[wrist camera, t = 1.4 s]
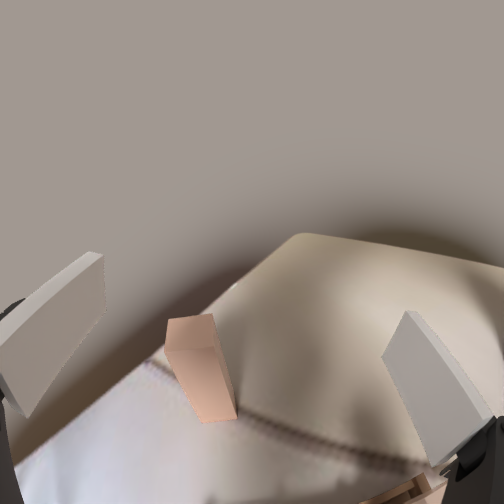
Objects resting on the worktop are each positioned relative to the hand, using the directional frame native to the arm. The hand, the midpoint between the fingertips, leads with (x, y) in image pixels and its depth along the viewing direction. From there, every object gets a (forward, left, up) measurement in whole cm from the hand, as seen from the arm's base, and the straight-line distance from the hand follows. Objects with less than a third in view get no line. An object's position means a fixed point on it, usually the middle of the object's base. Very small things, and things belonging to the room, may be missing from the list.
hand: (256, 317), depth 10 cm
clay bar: (-4, -11, -24) cm, 27 cm away
